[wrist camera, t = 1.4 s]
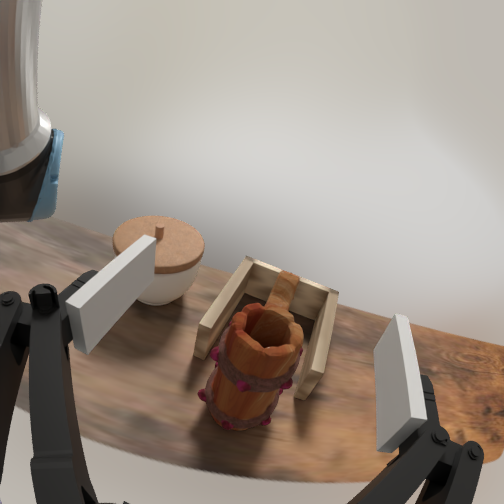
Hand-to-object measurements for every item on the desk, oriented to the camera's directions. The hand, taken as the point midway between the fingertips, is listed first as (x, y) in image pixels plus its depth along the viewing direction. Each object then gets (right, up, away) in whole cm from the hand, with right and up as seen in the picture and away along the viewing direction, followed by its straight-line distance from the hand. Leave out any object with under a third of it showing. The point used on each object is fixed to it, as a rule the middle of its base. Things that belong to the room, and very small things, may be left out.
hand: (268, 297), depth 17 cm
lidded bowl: (-15, -3, +31) cm, 35 cm away
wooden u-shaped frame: (+1, -10, +28) cm, 30 cm away
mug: (-2, -14, +20) cm, 24 cm away
